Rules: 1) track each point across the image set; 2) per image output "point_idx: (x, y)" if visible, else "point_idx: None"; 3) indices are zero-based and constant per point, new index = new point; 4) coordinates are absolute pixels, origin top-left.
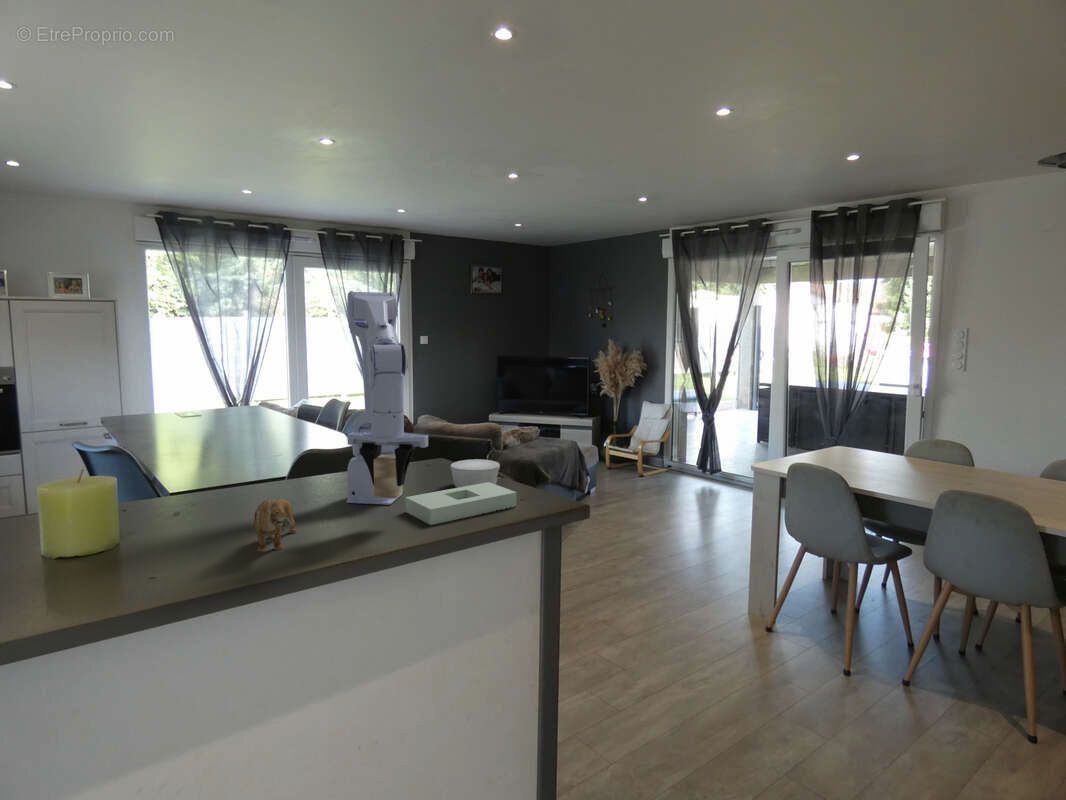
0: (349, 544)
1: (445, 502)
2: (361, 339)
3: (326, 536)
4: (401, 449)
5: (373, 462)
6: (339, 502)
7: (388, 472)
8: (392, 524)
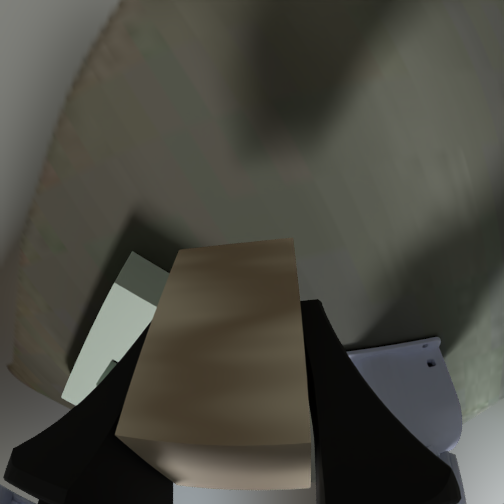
0: (290, 5)
1: (123, 341)
2: None
3: (412, 68)
4: (32, 494)
5: (317, 419)
6: (454, 335)
7: (188, 356)
8: (246, 228)
